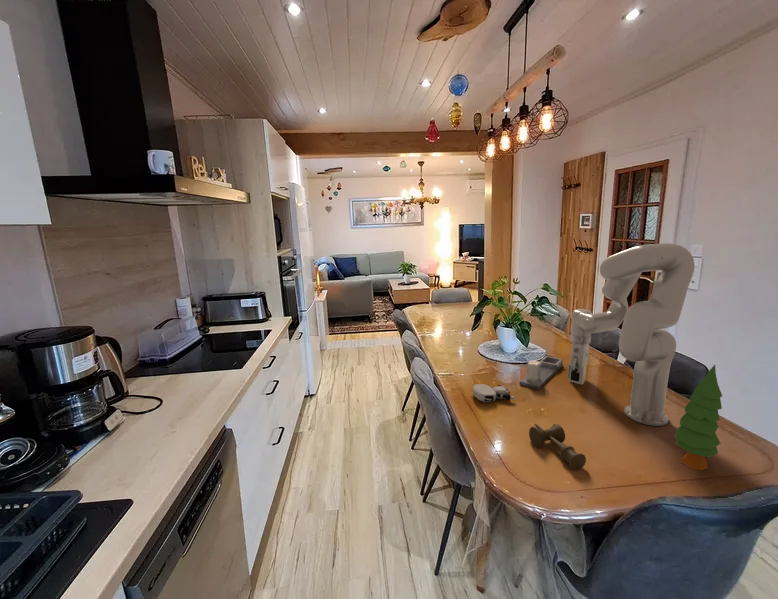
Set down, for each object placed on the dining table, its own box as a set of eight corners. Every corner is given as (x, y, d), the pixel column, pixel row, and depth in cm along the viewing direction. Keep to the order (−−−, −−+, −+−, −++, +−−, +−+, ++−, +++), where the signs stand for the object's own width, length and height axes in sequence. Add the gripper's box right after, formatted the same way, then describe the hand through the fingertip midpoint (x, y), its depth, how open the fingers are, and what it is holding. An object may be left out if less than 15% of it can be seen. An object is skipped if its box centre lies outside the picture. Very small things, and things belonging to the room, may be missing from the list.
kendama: (563, 475, 97) (520, 433, 116) (592, 470, 99) (546, 429, 118) (566, 456, 96) (522, 417, 114) (595, 451, 98) (547, 413, 117)
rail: (538, 389, 145) (539, 368, 143) (519, 384, 151) (520, 364, 149) (562, 365, 168) (564, 347, 166) (545, 362, 174) (546, 343, 172)
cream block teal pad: (582, 384, 149) (583, 367, 147) (567, 381, 152) (568, 363, 151) (584, 381, 151) (586, 364, 150) (570, 378, 155) (571, 361, 154)
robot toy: (502, 391, 147) (468, 392, 145) (503, 381, 146) (468, 382, 145) (516, 405, 135) (479, 407, 134) (517, 395, 135) (480, 396, 133)
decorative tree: (722, 476, 93) (740, 371, 87) (680, 471, 96) (695, 368, 90) (701, 454, 102) (716, 357, 96) (663, 449, 105) (676, 355, 99)
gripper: (584, 345, 139) (581, 386, 143) (595, 334, 151) (592, 372, 155) (564, 342, 144) (561, 381, 148) (576, 331, 156) (573, 368, 160)
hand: (577, 377), depth 151 cm, fingers open, 7 cm apart
